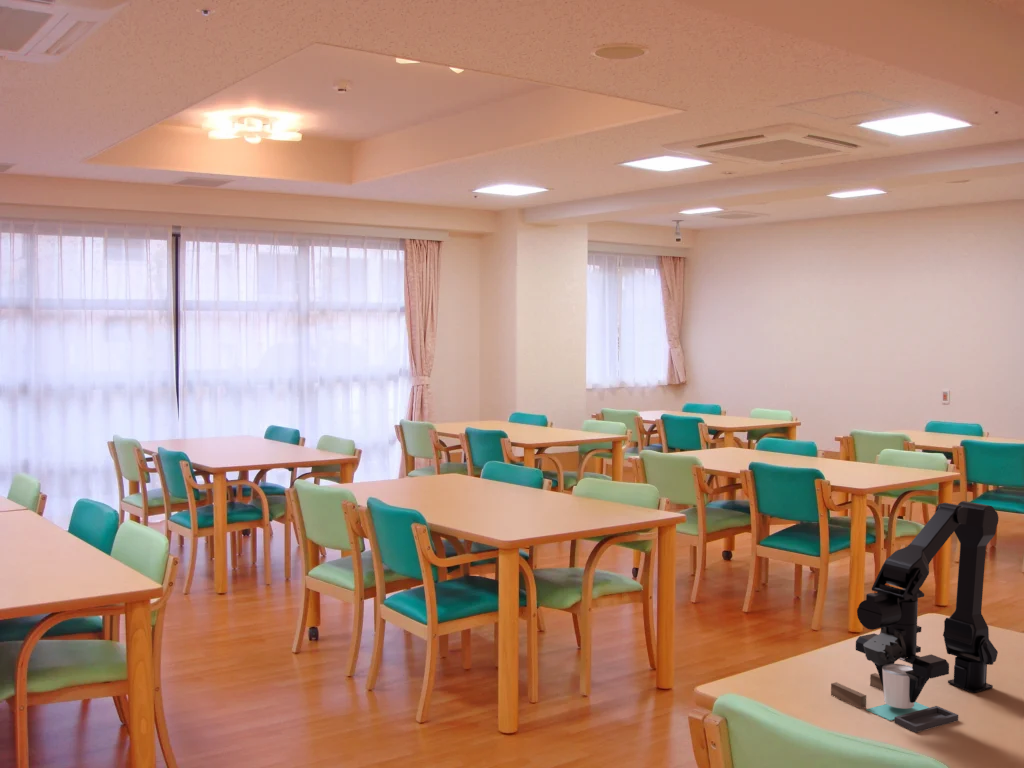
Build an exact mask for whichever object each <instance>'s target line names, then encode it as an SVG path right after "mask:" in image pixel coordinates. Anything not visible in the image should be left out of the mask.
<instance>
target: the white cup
mask: <svg viewBox="0 0 1024 768" xmlns="http://www.w3.org/2000/svg"><path fill="white" fill-rule="evenodd" d="M910 670H913V669H912V666H910V665H906V664H901V663H894V664H886V665H884V666H882V673H883V688H884V691H883V699H884V700H883V701H884V702H883V703H884V704H887V705H889V706H892V707H895V708H902V709H908V708H912V707H913V706H914V702H913V703H911V702H910V696H909V688H910V678H909V676H908V675H907V674H906V671H910Z"/></svg>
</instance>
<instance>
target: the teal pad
mask: <svg viewBox="0 0 1024 768" xmlns="http://www.w3.org/2000/svg"><path fill="white" fill-rule="evenodd" d="M927 708H930V707H929V706H927V705H924V704H922V703H920V702H917V701H915V702H914V706H913V707H912V708H908V709H902V708H895V707H892V706H889V705H887V704H886V703H884V704H881V705H878V706H873V707H870V708H866V711H867V712H870V713H872V714H873V715H876V716H878V717H881V718H883V719H885V720H887V721H889V722H891V721H892V722H893V721H895V717H897V716H900V715H904V714H908V713H912V712H915V711H919V710H923V709H927Z"/></svg>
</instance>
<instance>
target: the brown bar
mask: <svg viewBox="0 0 1024 768" xmlns="http://www.w3.org/2000/svg"><path fill="white" fill-rule="evenodd" d="M869 680H870V681H869V682H870V683H869V686H870V687H872V688H875V689H878V690H879V691H882V692H884V689H883V686H882V683H881V680H880V677H879V674H878V672H877V673H876V672H874V673H871V674H870V678H869ZM832 695H833V696H832ZM830 696H832V697H834V696H835V697H834V698H836V697H837V698H836V699H838V700H840V699H841V700H840V701H843V702H845V703H848V704H849V705H851V706H854V707H856V708H858V709H860V710H861V709H864V708H866V707H867V694H864V693H861V692H860V691H858V690H855V689H852V688H851V687H849V686H846V685H844V684H842V683H839V682H837V681H836V682H831V684H830ZM866 709H867V708H866Z"/></svg>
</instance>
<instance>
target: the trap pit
mask: <svg viewBox="0 0 1024 768" xmlns="http://www.w3.org/2000/svg"><path fill="white" fill-rule="evenodd" d="M955 722H959V714H957V713H955V712H952V711H950V710H948V709H945V708H943V707H940V706H938V705H934V706H931V707H929V708H927V709H923V710H919V711H915V712H912V713H908V714H904V715H900V716H897V717H895V720H894V724H895V725H898V726H900V727H902V728H905V729H906V730H909V731H911V732H912V733H920V732H923V731H927V730H930V729H934V728H937V727H941V726H944V725H949V724H953V723H955Z"/></svg>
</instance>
